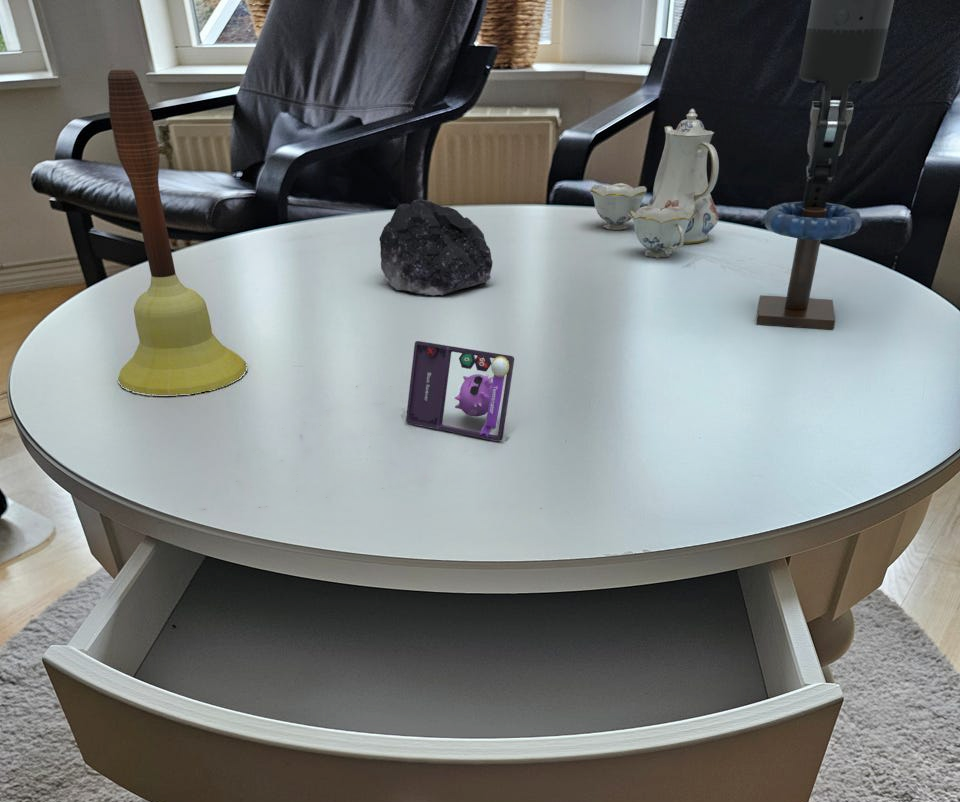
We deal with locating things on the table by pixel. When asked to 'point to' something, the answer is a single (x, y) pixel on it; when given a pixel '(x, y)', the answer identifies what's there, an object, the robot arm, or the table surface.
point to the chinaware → (668, 194)
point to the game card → (474, 391)
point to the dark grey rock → (433, 250)
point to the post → (799, 290)
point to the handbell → (162, 271)
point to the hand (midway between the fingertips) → (811, 216)
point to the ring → (812, 221)
